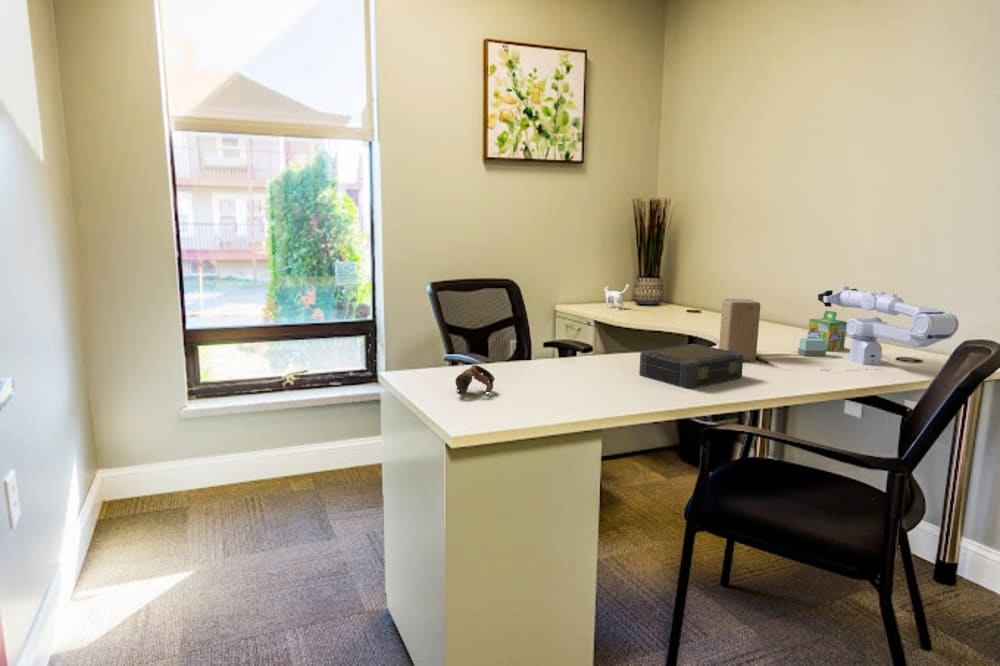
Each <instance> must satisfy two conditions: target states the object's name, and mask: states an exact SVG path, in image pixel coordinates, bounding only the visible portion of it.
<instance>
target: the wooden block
mask: <svg viewBox="0 0 1000 666" xmlns="http://www.w3.org/2000/svg"><path fill="white" fill-rule="evenodd" d="M760 315H761V302H759V301H756V300H753V299H750V298H724V299H722V305H721V316H720V328H719V329H720V330H719V331H720V332H719V343H718V344H719V345H718V349H722V350H727V351H732V352H736V353H740V354H742V355H743V362H754V361H756V359H757V358H756V356H757V355H756V352H758V351H757V350H758V339H759V325H760Z"/></svg>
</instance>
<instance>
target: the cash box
mask: <svg viewBox="0 0 1000 666" xmlns="http://www.w3.org/2000/svg"><path fill="white" fill-rule="evenodd" d="M743 364H744V361H743V355H742V354H740V353H736V352H732V351H727V350H722V349H719V348H716V347H711V346H708V345H707V346H706V345H702V344H696V343H690V344H681V345H675V346H668V347H660V348H655V349H647V350H643V351H641V352H640V355H639V372H638V373H639V376H641V377H643V376H644V377H645V378H647V377H648V379H650V380H651V379H652V380H654V379H655V381H658V380H659V381H658V382H661V381H663V382H662V383H665V382H666V383H665V384H669V383H670V385H672V384H674V385H673V386H676V385H678V386H677V387H679V386H682V387H681V388H683V387H686V388H685V389H688V388H692V389H695V388H694V387H697V388H700V387H699V386H702V387H705V386H704V385H706V386H710V385H709V384H711V385H715V384H714V383H716V384H719V382H721V383H724V382H723V381H726V382H729V381H728V380H731V381H734V379H735V380H740V379H741V378H743V377H742V376H743V367H744V365H743ZM739 378H740V379H739Z"/></svg>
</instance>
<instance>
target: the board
mask: <svg viewBox="0 0 1000 666" xmlns="http://www.w3.org/2000/svg"><path fill="white" fill-rule="evenodd" d="M757 358H758V360H759V361H762V362H764V361H765V362H764V363H766V362H770V361H769V360H836V358H834V357H832V356H830V355H826V356H802V355H799V354H798V351H757V352H756V359H757Z"/></svg>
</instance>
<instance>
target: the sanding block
mask: <svg viewBox="0 0 1000 666" xmlns="http://www.w3.org/2000/svg"><path fill="white" fill-rule="evenodd" d="M825 348H826V340H823V339H820V338H807V337H805V338H803V337H802V338H799V347H798V348H797V352H798V354H799V355H802V356H826V354H827V351H826V350H825Z"/></svg>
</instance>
